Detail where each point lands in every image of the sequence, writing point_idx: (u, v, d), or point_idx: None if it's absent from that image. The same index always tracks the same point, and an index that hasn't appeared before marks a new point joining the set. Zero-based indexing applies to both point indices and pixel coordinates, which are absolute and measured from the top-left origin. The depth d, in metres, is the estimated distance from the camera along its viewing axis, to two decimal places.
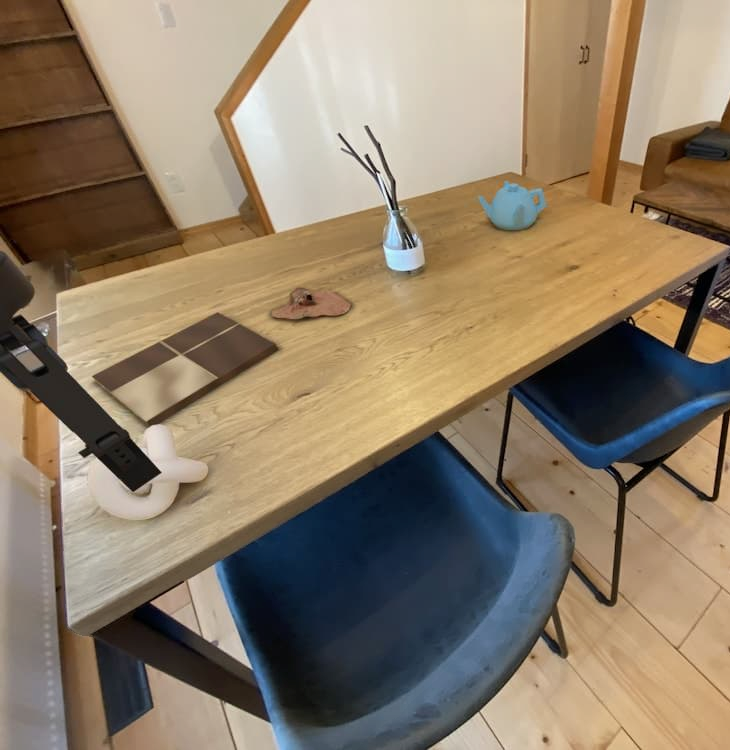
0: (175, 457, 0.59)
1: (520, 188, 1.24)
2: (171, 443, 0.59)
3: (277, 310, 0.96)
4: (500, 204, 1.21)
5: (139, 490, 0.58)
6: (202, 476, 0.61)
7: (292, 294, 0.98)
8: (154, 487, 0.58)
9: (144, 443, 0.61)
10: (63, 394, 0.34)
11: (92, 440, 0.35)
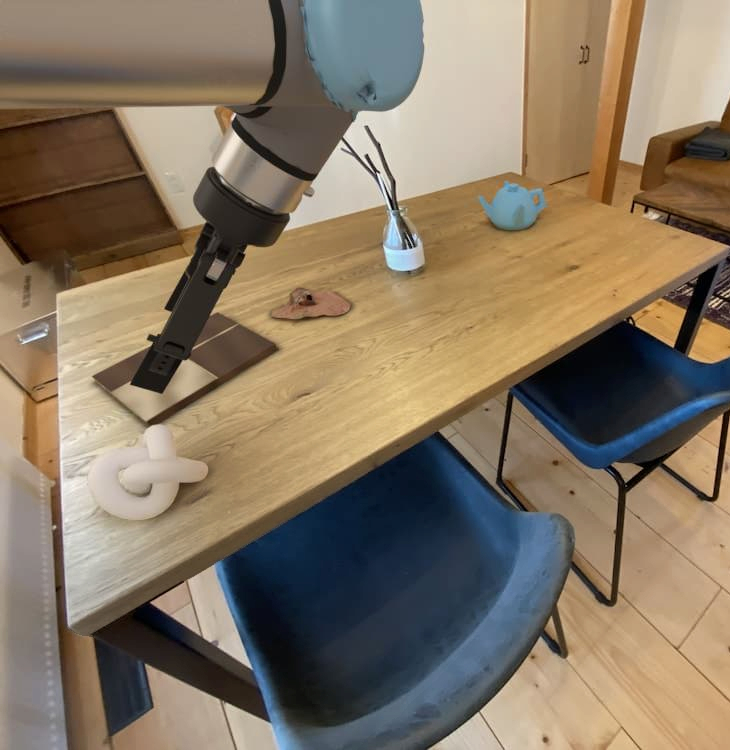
0: (175, 457, 0.59)
1: (520, 188, 1.24)
2: (171, 443, 0.59)
3: (277, 310, 0.96)
4: (500, 204, 1.21)
5: (139, 490, 0.58)
6: (202, 476, 0.61)
7: (292, 294, 0.98)
8: (154, 487, 0.58)
9: (144, 443, 0.61)
10: (198, 302, 0.39)
11: (167, 339, 0.38)
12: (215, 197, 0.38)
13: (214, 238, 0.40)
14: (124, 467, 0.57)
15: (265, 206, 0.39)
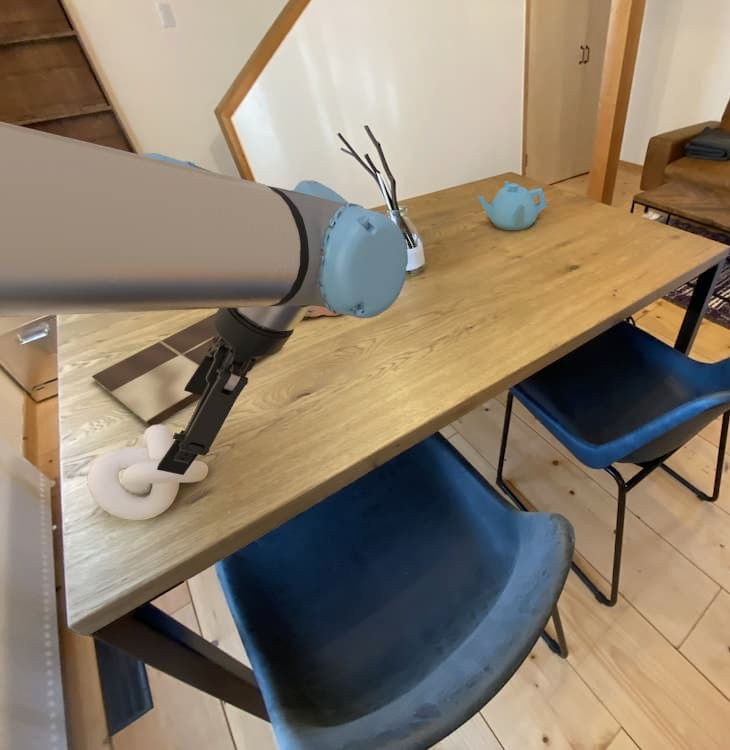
0: None
1: (520, 188, 1.24)
2: (171, 443, 0.59)
3: None
4: (500, 204, 1.21)
5: (139, 490, 0.58)
6: (202, 476, 0.61)
7: None
8: (154, 487, 0.58)
9: (144, 443, 0.61)
10: (217, 409, 0.46)
11: (190, 440, 0.46)
12: (232, 324, 0.46)
13: (230, 354, 0.47)
14: (124, 467, 0.57)
15: (273, 329, 0.47)
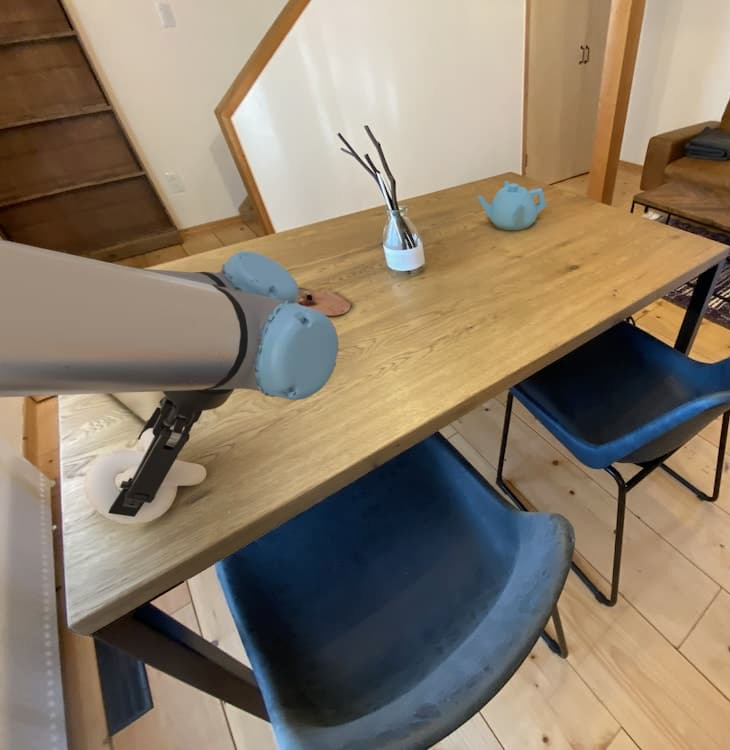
0: None
1: (520, 188, 1.24)
2: None
3: None
4: (500, 204, 1.21)
5: None
6: (200, 479, 0.60)
7: None
8: None
9: (141, 447, 0.60)
10: (159, 463, 0.50)
11: (135, 491, 0.49)
12: None
13: (174, 409, 0.50)
14: (121, 471, 0.57)
15: None
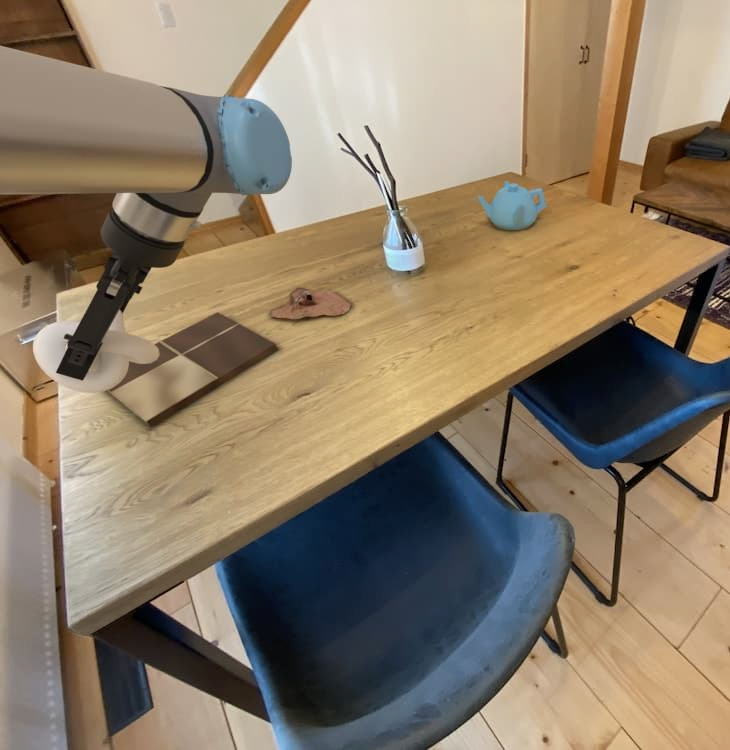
0: None
1: (520, 188, 1.24)
2: (119, 319, 0.60)
3: (277, 310, 0.96)
4: (500, 204, 1.21)
5: None
6: (152, 355, 0.61)
7: (292, 294, 0.98)
8: (102, 361, 0.59)
9: None
10: (101, 312, 0.51)
11: (77, 338, 0.51)
12: (114, 231, 0.50)
13: (116, 261, 0.51)
14: None
15: (155, 237, 0.51)
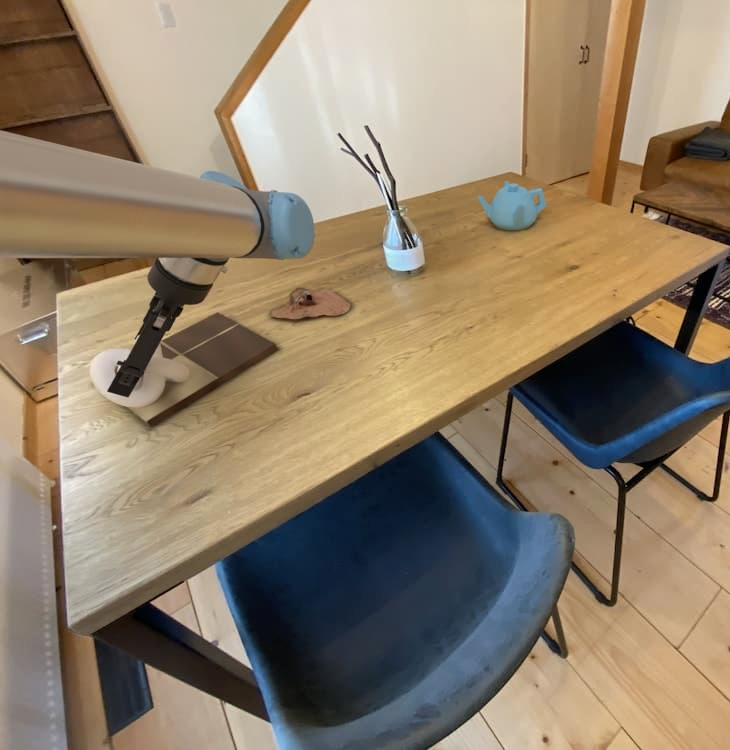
0: (161, 358, 0.72)
1: (520, 188, 1.24)
2: (158, 346, 0.72)
3: (277, 310, 0.96)
4: (500, 204, 1.21)
5: None
6: (184, 375, 0.74)
7: (292, 294, 0.98)
8: (144, 381, 0.71)
9: None
10: (148, 341, 0.62)
11: (128, 364, 0.62)
12: (159, 277, 0.62)
13: (160, 301, 0.63)
14: None
15: (191, 282, 0.63)
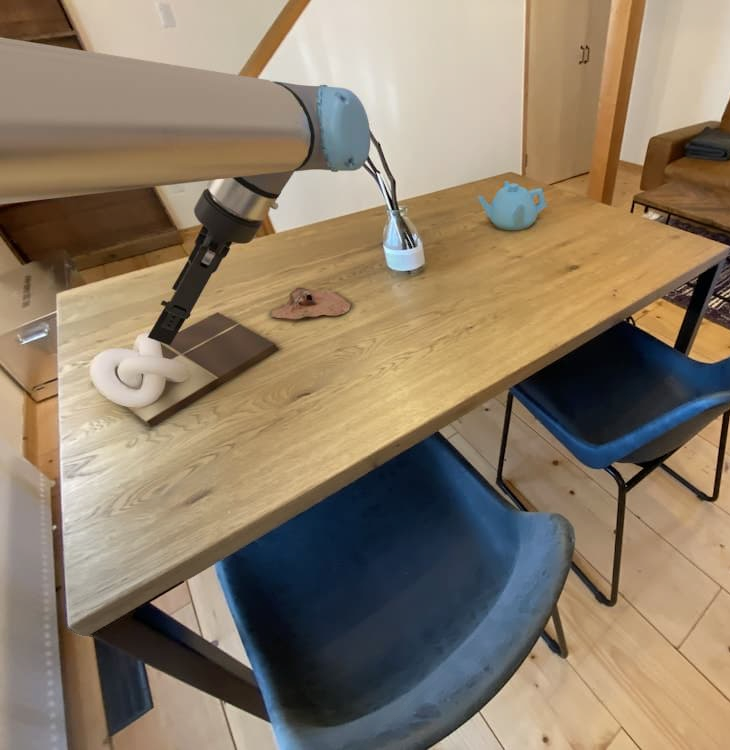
0: (161, 358, 0.72)
1: (520, 188, 1.24)
2: (158, 346, 0.72)
3: (277, 310, 0.96)
4: (500, 204, 1.21)
5: (132, 382, 0.71)
6: (184, 375, 0.74)
7: (292, 294, 0.98)
8: (144, 381, 0.71)
9: (136, 348, 0.74)
10: (196, 279, 0.57)
11: (174, 303, 0.57)
12: (208, 209, 0.57)
13: (208, 236, 0.58)
14: (119, 363, 0.70)
15: (242, 215, 0.58)
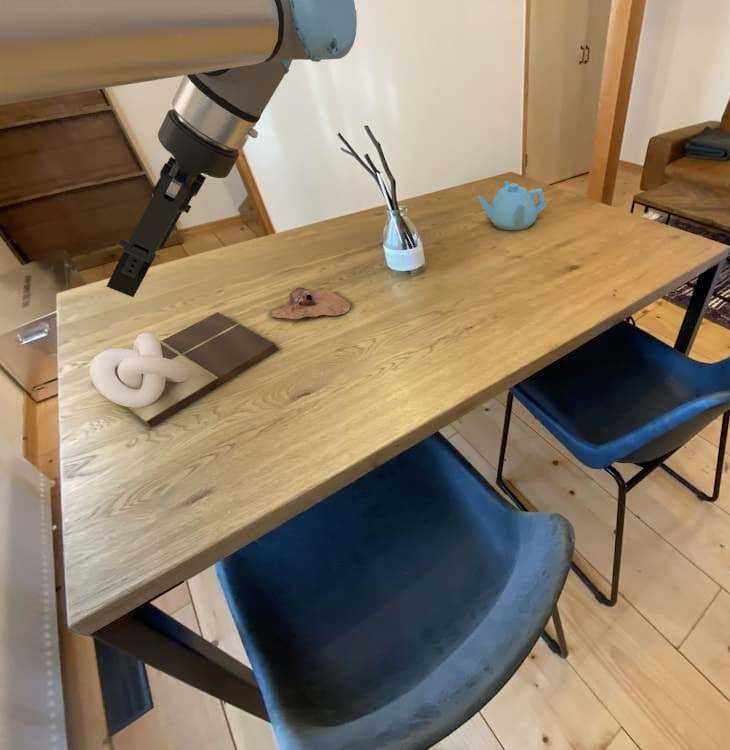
0: (161, 358, 0.72)
1: (520, 188, 1.24)
2: (158, 346, 0.72)
3: (277, 310, 0.96)
4: (500, 204, 1.21)
5: (132, 382, 0.71)
6: (184, 375, 0.74)
7: (292, 294, 0.98)
8: (144, 381, 0.71)
9: (136, 348, 0.74)
10: (160, 214, 0.49)
11: (134, 242, 0.48)
12: (174, 131, 0.48)
13: (174, 165, 0.50)
14: (119, 363, 0.70)
15: (214, 140, 0.49)
